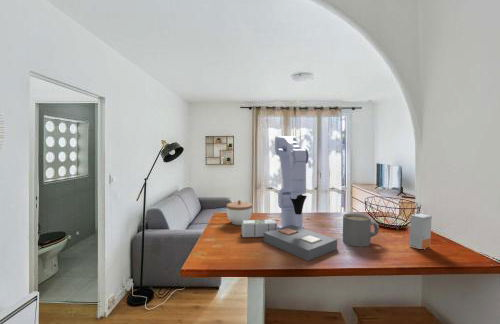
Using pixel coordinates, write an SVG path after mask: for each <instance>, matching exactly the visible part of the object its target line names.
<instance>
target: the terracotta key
mask: <svg viewBox="0 0 500 324" xmlns="http://www.w3.org/2000/svg"><path fill="white" fill-rule="evenodd" d="M279 232H280V233H282V234H285V235H288V236H289V235H292V234H296V233H297V231H295V230H292V229H289V228H286V229H283V230H279Z"/></svg>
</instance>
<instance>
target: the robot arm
mask: <svg viewBox="0 0 500 324" xmlns="http://www.w3.org/2000/svg"><path fill="white" fill-rule="evenodd" d="M274 152H275V155H276V156H278V157H279V161H280V167H281V169H280V171H281V179H282V187H283V188H281V189H280V190H279V191H278V193H277V194H278V195H277V196H278V198H277V204H278V207H279V208H280V209H281V225H277V227H278V228H282V227H286V226H290V225H294V226H297V227H300V228H303V229H305V226H303V218H304V217H303V208H304V204H305V201H306V199H307V195H306V194H307V190H306V189H307V164H308V163H309V151H308V150H307V148H302V147H301V146H300V144H299V143H297V137H296V136H295V135H290V136H289V135H287V136H285V135H283V136H282V135H276V136H275V137H274Z"/></svg>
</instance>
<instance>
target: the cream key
mask: <svg viewBox="0 0 500 324" xmlns="http://www.w3.org/2000/svg"><path fill="white" fill-rule="evenodd" d="M301 241H304V242H307V243H310V244H315V243H318V242H320V241H321V239H319V238H316V237H313V236H310V235H309V236H306V237H303V238H301Z"/></svg>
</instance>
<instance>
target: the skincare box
mask: <svg viewBox="0 0 500 324" xmlns="http://www.w3.org/2000/svg"><path fill="white" fill-rule="evenodd" d="M409 226H410V228H409V246H412V247H415V248H419V249H424V248H426V247H429V246H430V247H431V237H432V234H431V233H432V215H429V214H426V213H415V214H411V215H410V225H409ZM424 250H425V249H424Z"/></svg>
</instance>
